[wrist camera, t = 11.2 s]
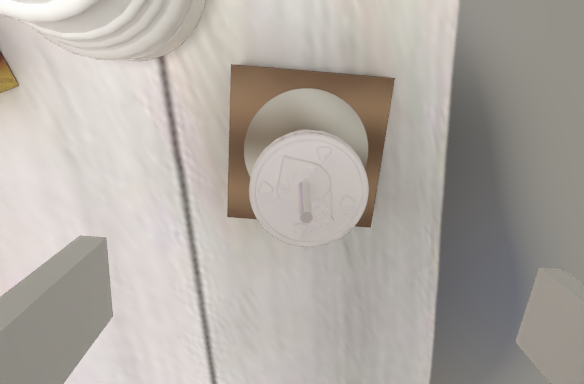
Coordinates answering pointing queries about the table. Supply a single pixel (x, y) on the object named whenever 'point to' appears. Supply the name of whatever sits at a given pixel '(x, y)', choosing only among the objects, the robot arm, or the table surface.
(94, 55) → the honey pot
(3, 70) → the candy box
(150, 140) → the table surface
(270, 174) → the smoothie
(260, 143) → the pedestal
